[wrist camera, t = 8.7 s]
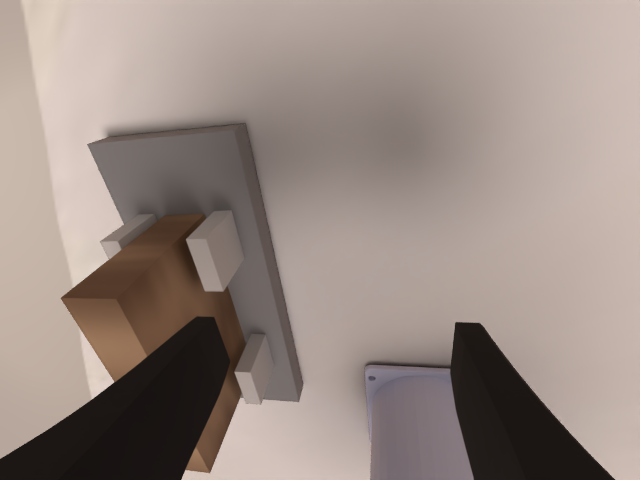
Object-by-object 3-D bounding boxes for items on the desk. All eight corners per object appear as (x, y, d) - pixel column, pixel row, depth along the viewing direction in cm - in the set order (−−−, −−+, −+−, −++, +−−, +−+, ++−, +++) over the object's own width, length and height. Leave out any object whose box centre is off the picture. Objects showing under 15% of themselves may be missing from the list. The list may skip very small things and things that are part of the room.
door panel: (252, 365, 24) (210, 473, 18) (211, 363, 24) (157, 466, 18) (204, 213, 18) (116, 298, 12) (152, 215, 18) (43, 298, 13)
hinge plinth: (303, 384, 26) (289, 442, 23) (210, 378, 28) (183, 432, 24) (245, 123, 17) (204, 147, 13) (107, 137, 18) (34, 162, 14)
